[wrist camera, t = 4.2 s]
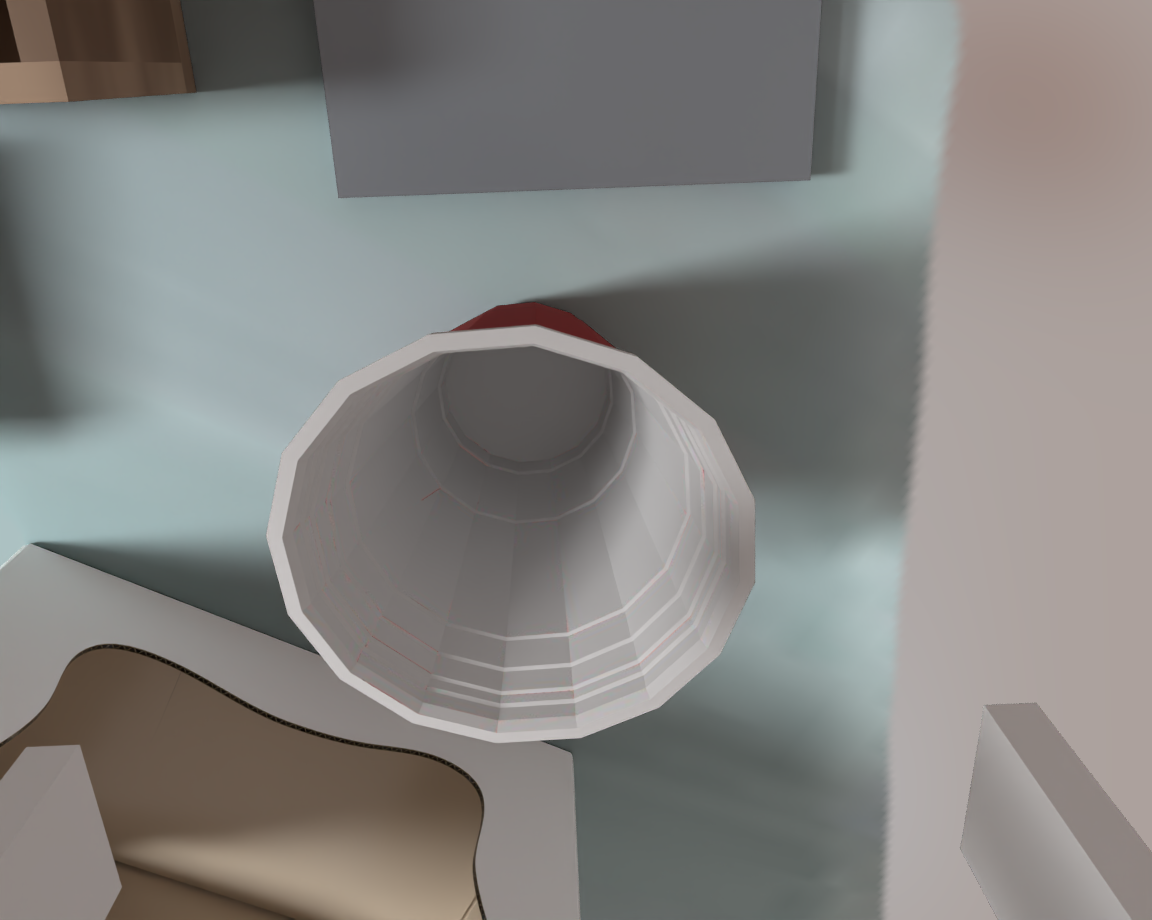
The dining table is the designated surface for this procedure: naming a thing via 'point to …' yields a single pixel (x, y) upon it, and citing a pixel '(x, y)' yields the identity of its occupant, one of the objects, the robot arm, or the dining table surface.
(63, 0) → the walnut box
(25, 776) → the robot arm
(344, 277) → the dining table surface
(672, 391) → the plastic cup
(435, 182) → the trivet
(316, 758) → the gable box
